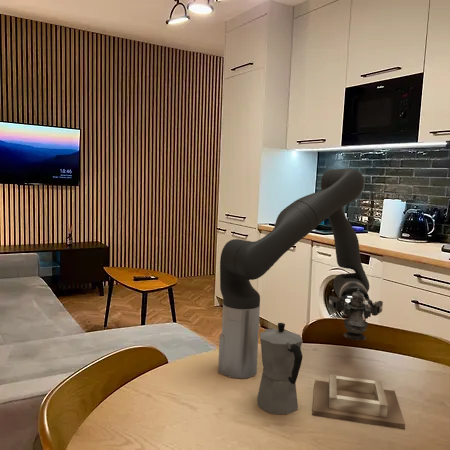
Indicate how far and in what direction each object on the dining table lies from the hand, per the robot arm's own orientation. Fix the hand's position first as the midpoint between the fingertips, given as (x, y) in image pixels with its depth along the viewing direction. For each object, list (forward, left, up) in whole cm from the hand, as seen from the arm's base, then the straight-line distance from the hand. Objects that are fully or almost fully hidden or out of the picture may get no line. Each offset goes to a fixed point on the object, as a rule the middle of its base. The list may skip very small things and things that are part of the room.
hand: (357, 313), depth 106 cm
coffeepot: (-16, -16, -18) cm, 29 cm away
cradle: (0, -10, -18) cm, 20 cm away
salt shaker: (0, +3, -7) cm, 7 cm away
